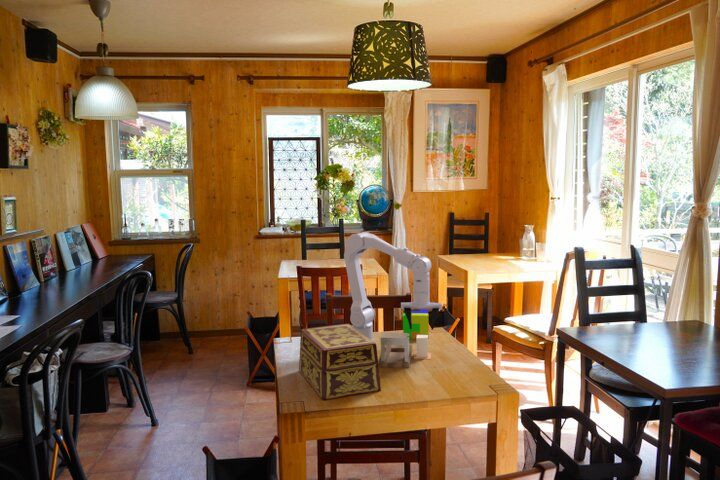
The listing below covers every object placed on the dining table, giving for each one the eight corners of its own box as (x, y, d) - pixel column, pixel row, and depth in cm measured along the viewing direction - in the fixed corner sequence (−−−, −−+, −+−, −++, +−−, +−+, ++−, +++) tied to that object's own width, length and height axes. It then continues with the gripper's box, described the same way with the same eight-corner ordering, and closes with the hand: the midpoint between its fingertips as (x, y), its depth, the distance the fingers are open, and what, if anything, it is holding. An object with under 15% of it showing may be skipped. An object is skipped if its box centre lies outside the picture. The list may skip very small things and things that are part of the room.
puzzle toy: (427, 333, 230) (427, 309, 229) (428, 340, 220) (428, 315, 219) (403, 332, 231) (403, 309, 230) (403, 339, 221) (403, 315, 220)
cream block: (416, 357, 197) (416, 338, 197) (416, 353, 201) (416, 334, 201) (427, 357, 197) (427, 338, 196) (428, 353, 201) (427, 335, 200)
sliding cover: (381, 361, 189) (380, 337, 188) (382, 355, 195) (382, 332, 194) (408, 362, 188) (408, 338, 187) (409, 356, 193) (409, 333, 193)
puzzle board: (379, 368, 188) (379, 362, 188) (385, 349, 208) (385, 344, 208) (409, 369, 187) (409, 363, 187) (412, 350, 207) (412, 345, 206)
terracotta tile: (413, 360, 196) (413, 358, 196) (414, 353, 203) (414, 352, 203) (430, 360, 195) (430, 358, 195) (431, 354, 202) (431, 352, 202)
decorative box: (298, 371, 188) (297, 328, 186) (350, 363, 194) (349, 322, 192) (322, 401, 162) (321, 351, 160) (381, 391, 169) (380, 343, 167)
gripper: (400, 293, 194) (400, 331, 196) (442, 294, 192) (442, 332, 194) (401, 289, 201) (402, 325, 203) (442, 289, 199) (442, 326, 201)
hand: (421, 328), depth 199 cm, fingers open, 7 cm apart
